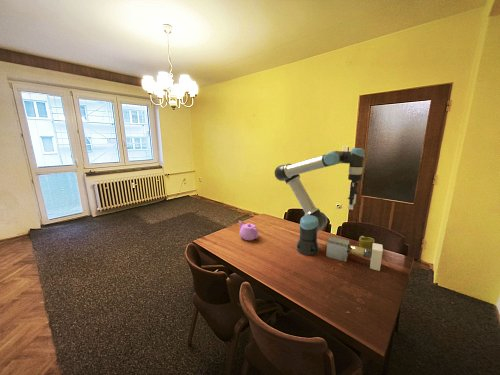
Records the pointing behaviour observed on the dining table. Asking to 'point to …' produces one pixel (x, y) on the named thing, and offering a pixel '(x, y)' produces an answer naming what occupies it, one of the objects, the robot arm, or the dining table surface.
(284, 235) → the dining table surface
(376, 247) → the socket block
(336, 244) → the pale grey box
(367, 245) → the mug
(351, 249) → the tube
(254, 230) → the teapot
